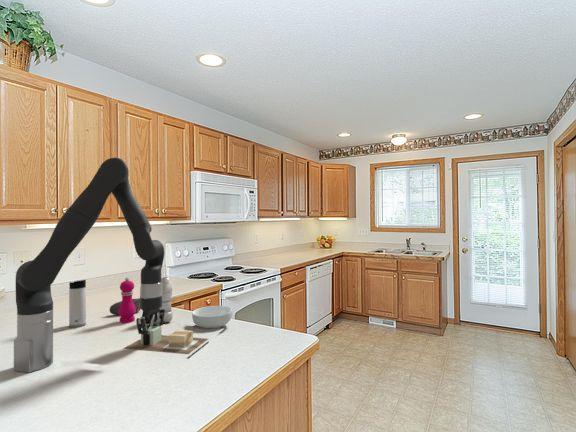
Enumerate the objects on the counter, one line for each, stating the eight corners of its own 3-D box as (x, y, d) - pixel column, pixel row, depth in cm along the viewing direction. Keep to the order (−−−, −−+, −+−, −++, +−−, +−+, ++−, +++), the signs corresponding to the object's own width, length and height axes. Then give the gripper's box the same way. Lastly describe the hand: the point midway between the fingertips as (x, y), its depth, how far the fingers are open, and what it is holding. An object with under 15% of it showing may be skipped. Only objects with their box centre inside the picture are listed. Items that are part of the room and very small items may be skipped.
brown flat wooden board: (188, 358, 113) (188, 353, 113) (122, 352, 119) (122, 348, 119) (208, 342, 128) (208, 338, 128) (149, 338, 133) (149, 334, 133)
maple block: (184, 347, 118) (184, 336, 119) (168, 346, 120) (168, 335, 120) (192, 341, 124) (192, 330, 124) (178, 340, 126) (178, 329, 126)
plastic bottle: (167, 319, 159) (167, 276, 159) (175, 321, 154) (175, 277, 155) (154, 322, 154) (154, 278, 154) (162, 325, 150) (162, 279, 150)
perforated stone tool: (109, 317, 163) (109, 302, 163) (109, 314, 168) (109, 300, 168) (143, 313, 170) (143, 299, 170) (142, 310, 175) (142, 297, 175)
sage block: (153, 345, 122) (153, 330, 122) (140, 344, 123) (140, 330, 123) (161, 340, 127) (161, 326, 127) (149, 339, 128) (149, 325, 128)
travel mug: (78, 328, 146) (78, 281, 147) (65, 327, 148) (65, 281, 148) (90, 323, 153) (89, 279, 153) (77, 323, 154) (77, 278, 154)
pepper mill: (114, 322, 155) (114, 278, 155) (128, 318, 161) (128, 275, 161) (125, 324, 151) (125, 279, 152) (139, 320, 158) (139, 276, 158)
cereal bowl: (190, 323, 152) (190, 307, 152) (227, 319, 158) (227, 304, 158) (194, 335, 136) (194, 317, 136) (235, 330, 142) (235, 313, 142)
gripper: (153, 290, 133) (154, 334, 133) (129, 299, 119) (129, 348, 119) (171, 291, 131) (171, 335, 131) (148, 300, 117) (148, 349, 117)
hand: (151, 341), depth 125 cm, fingers closed on sage block, 5 cm apart
